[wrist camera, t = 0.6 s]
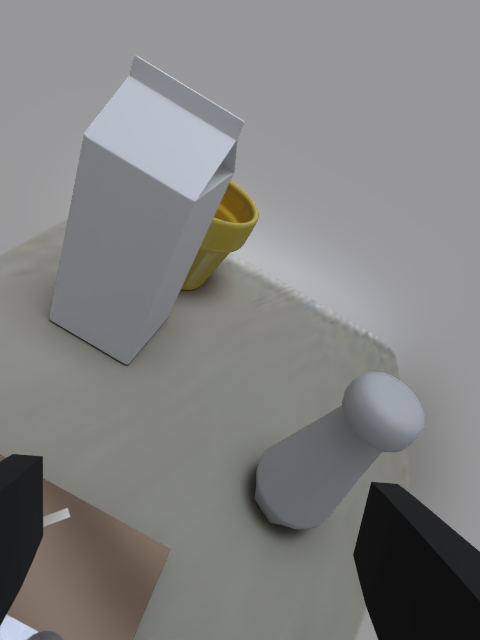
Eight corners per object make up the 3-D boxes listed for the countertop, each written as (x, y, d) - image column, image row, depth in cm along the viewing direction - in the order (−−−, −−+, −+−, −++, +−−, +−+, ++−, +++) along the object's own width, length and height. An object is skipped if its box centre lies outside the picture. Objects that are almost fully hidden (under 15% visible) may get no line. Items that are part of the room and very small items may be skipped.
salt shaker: (230, 467, 28) (332, 355, 21) (289, 452, 32) (396, 349, 24) (265, 554, 25) (401, 458, 17) (327, 526, 29) (464, 436, 21)
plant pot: (231, 272, 47) (270, 201, 41) (202, 320, 38) (245, 239, 33) (154, 228, 46) (182, 149, 40) (107, 266, 38) (134, 174, 32)
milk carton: (127, 367, 31) (224, 131, 19) (47, 320, 31) (97, 54, 19) (167, 319, 36) (260, 114, 25) (100, 279, 36) (163, 55, 25)
